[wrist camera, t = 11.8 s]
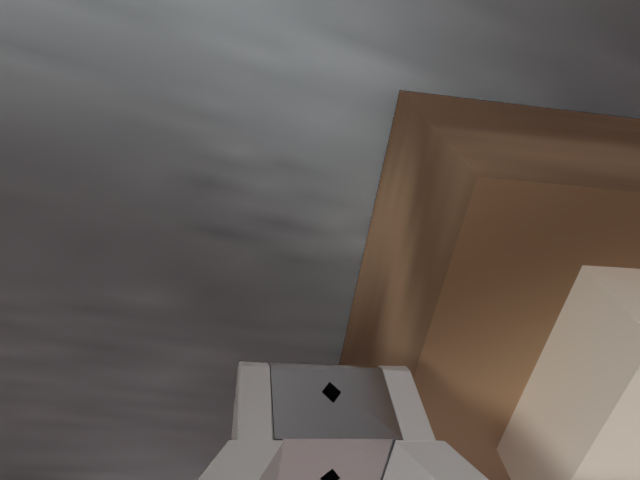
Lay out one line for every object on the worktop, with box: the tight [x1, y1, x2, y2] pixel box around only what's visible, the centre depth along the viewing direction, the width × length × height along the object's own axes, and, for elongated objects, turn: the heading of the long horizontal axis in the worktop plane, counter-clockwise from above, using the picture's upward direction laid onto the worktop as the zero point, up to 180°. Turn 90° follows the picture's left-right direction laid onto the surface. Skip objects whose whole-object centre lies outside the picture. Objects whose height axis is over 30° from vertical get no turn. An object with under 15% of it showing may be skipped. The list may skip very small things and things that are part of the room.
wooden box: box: [339, 90, 640, 480], centre depth 16 cm, size 16×12×5 cm
